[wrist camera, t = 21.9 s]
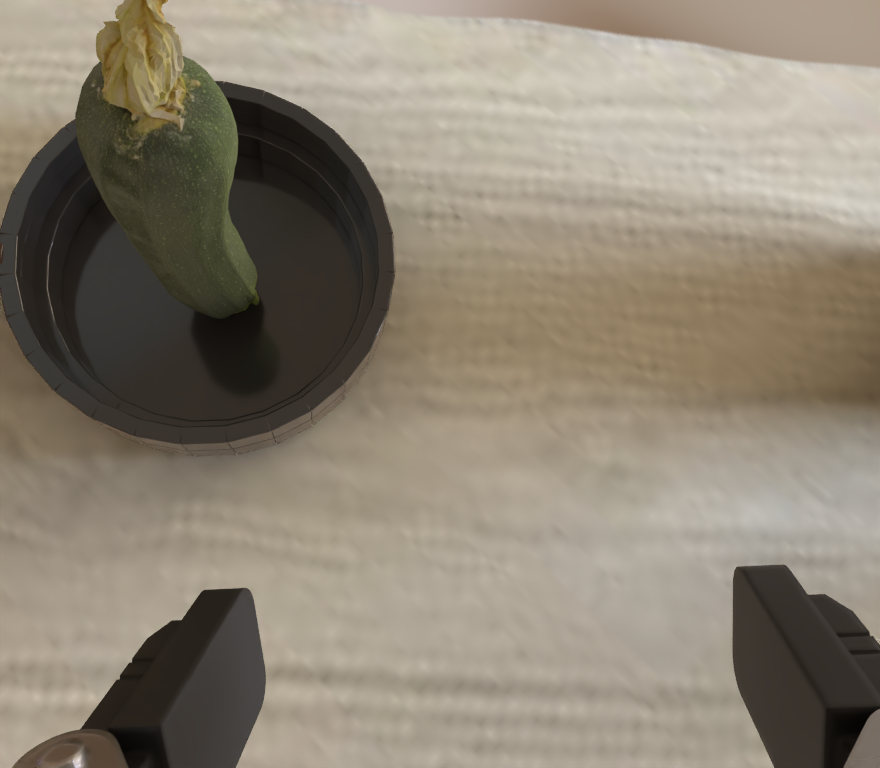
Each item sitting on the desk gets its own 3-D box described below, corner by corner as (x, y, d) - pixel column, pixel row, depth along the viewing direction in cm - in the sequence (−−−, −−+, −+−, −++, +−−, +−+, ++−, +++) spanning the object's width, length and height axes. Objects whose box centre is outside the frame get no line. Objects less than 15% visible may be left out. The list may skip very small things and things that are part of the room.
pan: (378, 137, 39) (385, 85, 35) (393, 450, 36) (403, 435, 32) (43, 131, 37) (6, 74, 33) (29, 465, 34) (-14, 452, 29)
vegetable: (177, 346, 35) (2, 89, 16) (156, 255, 36) (-36, -98, 17) (277, 324, 36) (228, 54, 17) (255, 235, 37) (183, -123, 17)
